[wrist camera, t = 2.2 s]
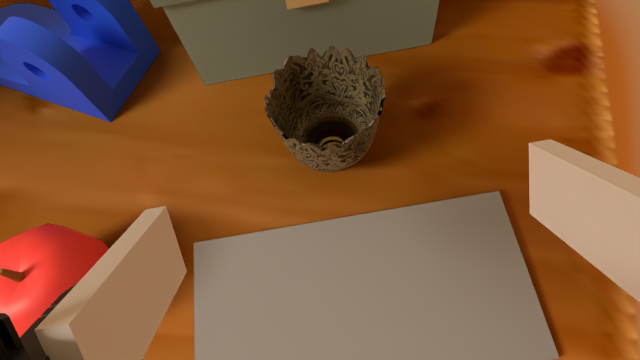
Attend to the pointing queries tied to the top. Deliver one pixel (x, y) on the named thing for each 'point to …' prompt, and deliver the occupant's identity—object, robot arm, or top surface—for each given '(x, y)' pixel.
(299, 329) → the rubber mat
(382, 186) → the top surface
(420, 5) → the toolbox
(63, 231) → the apple
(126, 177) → the top surface
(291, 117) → the cup
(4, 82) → the bracket
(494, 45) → the top surface
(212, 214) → the top surface
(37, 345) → the robot arm
